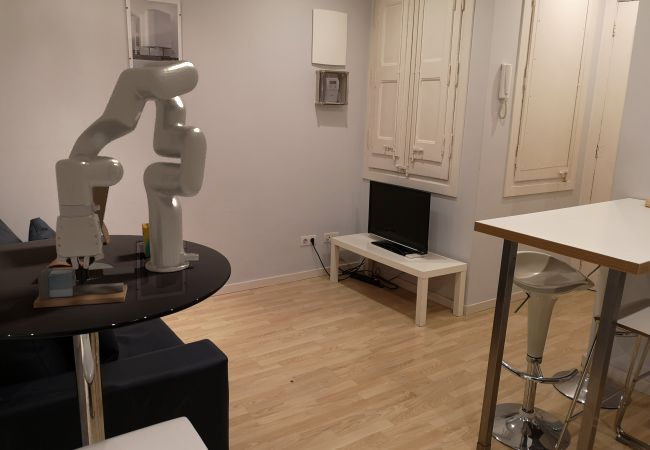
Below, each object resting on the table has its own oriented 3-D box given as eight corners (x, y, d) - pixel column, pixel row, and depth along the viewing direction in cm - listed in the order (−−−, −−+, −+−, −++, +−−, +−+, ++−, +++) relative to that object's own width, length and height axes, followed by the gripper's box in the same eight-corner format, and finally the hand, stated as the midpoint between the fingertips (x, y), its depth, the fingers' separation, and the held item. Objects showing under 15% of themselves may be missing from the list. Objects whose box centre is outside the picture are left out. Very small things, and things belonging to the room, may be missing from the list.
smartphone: (133, 268, 159) (78, 272, 153) (133, 265, 159) (78, 270, 153) (135, 275, 152) (78, 280, 146) (135, 272, 152) (78, 277, 146)
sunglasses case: (73, 281, 144) (58, 261, 143) (50, 294, 144) (35, 275, 142) (87, 263, 162) (74, 245, 160) (66, 275, 161) (53, 257, 159)
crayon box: (143, 252, 176) (141, 217, 174) (152, 251, 177) (150, 217, 175) (145, 257, 170) (143, 222, 167) (155, 256, 171) (153, 221, 168)
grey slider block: (76, 289, 134) (74, 268, 133) (72, 296, 129) (70, 274, 128) (54, 290, 132) (52, 269, 131) (49, 297, 127) (47, 275, 126)
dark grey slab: (55, 290, 133) (53, 267, 132) (49, 299, 127) (46, 276, 125) (46, 291, 133) (44, 268, 131) (39, 300, 126) (37, 276, 125)
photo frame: (83, 258, 167) (77, 179, 162) (61, 244, 183) (55, 172, 178) (129, 250, 177) (125, 176, 172) (104, 238, 193) (100, 170, 188)
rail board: (127, 288, 139) (126, 277, 139) (124, 301, 130) (123, 290, 129) (43, 293, 134) (42, 282, 133) (34, 307, 125) (32, 295, 124)
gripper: (111, 206, 133) (116, 275, 137) (45, 208, 129) (52, 280, 133) (108, 212, 126) (114, 285, 130) (39, 214, 122) (46, 290, 126)
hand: (83, 282), depth 131 cm, fingers closed
